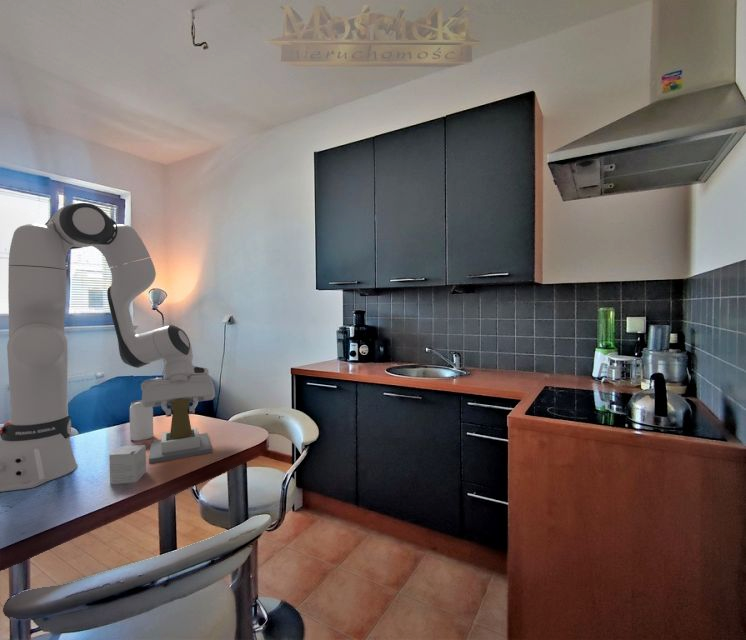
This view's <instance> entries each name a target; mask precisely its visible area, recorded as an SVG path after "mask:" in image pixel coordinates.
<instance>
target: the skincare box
mask: <svg viewBox="0 0 746 640" xmlns="http://www.w3.org/2000/svg"><path fill="white" fill-rule="evenodd" d="M146 449H147V448H146V445H145V444H141V445H140V444H139V445H122V446H120V447H118V448H117V449H116V450H114V451H113V452H112V453H111V454H109V458H108V459H109V484H110V485H118V484H129V483H131V484H132V483H137V482H138V481H140V480H141V478H142V477H143V476H144V475H145V473H147V450H146Z"/></svg>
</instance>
